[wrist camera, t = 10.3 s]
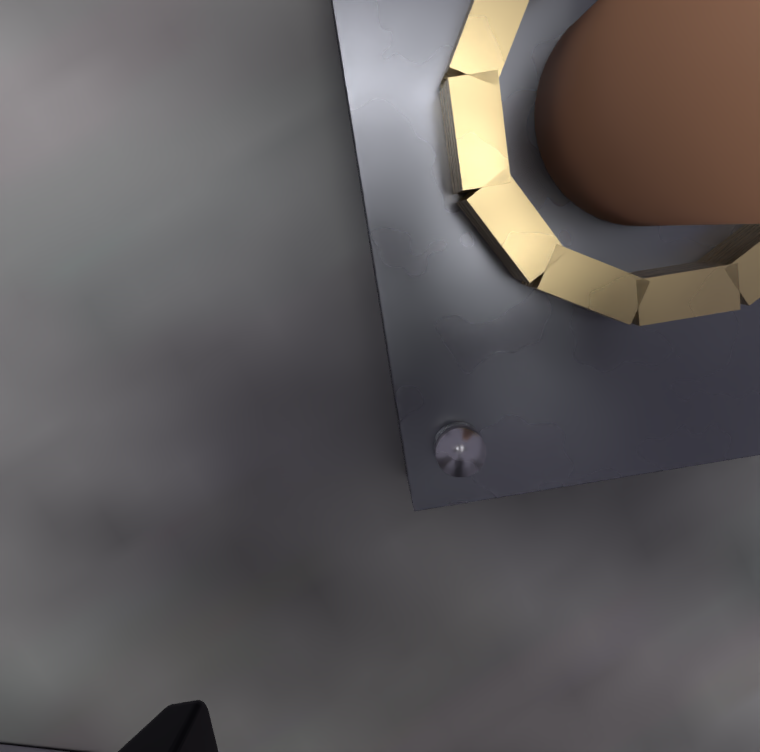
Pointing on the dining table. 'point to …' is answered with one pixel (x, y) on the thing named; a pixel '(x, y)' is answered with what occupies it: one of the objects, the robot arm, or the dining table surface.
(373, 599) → the dining table surface
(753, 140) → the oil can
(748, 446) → the gearbox housing
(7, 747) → the coffee box
